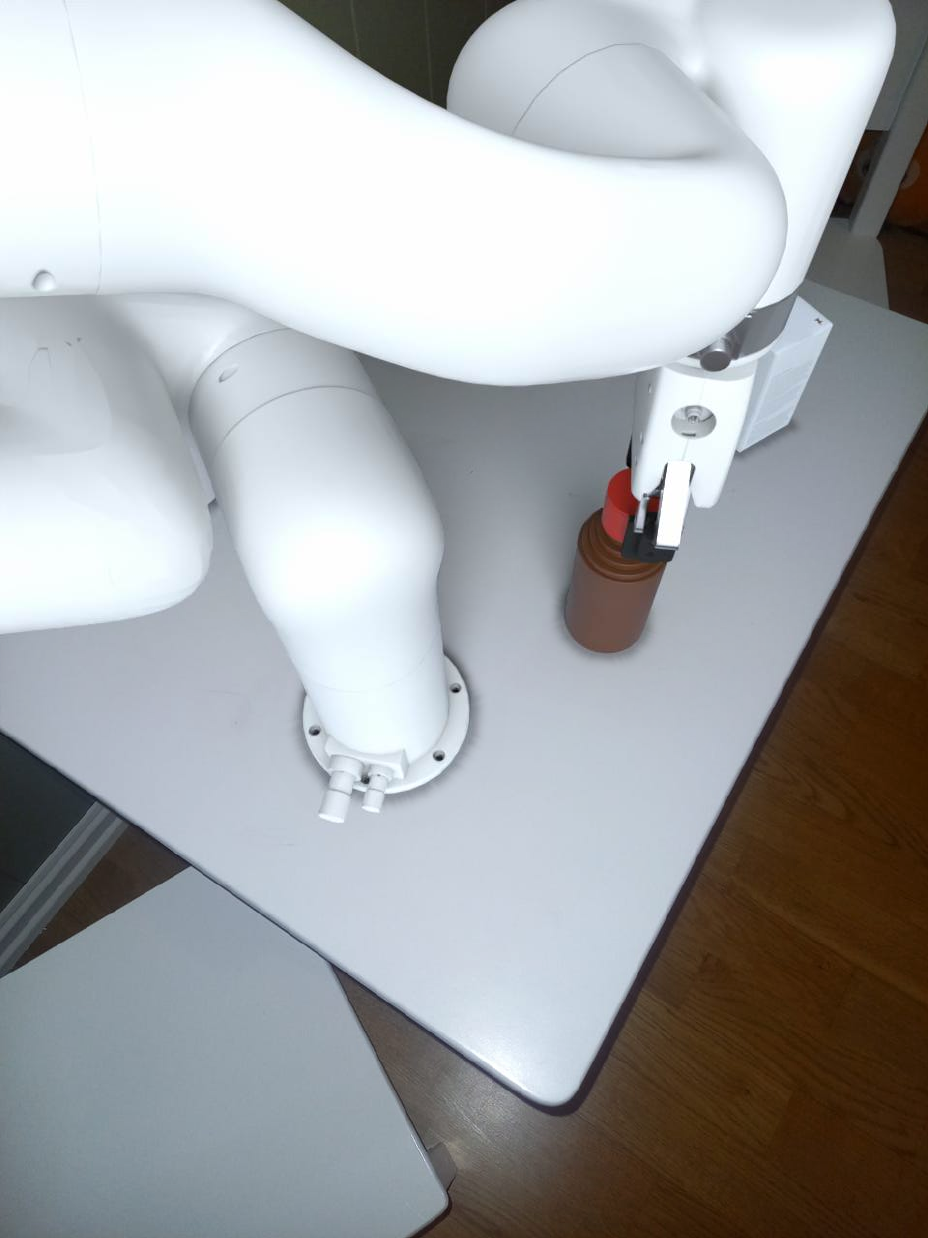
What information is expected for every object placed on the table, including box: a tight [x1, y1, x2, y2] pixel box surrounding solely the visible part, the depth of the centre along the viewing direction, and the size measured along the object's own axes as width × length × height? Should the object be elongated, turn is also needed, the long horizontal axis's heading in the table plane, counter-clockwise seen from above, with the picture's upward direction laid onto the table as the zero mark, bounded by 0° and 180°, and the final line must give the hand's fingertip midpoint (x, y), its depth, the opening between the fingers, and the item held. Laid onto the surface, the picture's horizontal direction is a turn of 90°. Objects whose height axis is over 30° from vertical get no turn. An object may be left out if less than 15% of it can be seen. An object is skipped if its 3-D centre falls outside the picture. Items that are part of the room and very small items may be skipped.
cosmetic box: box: [735, 295, 834, 453], centre depth 72 cm, size 6×4×12 cm
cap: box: [602, 467, 663, 543], centre depth 55 cm, size 4×4×3 cm
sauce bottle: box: [564, 506, 668, 654], centre depth 61 cm, size 6×6×16 cm
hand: (647, 508), depth 55 cm, fingers open, 6 cm apart
